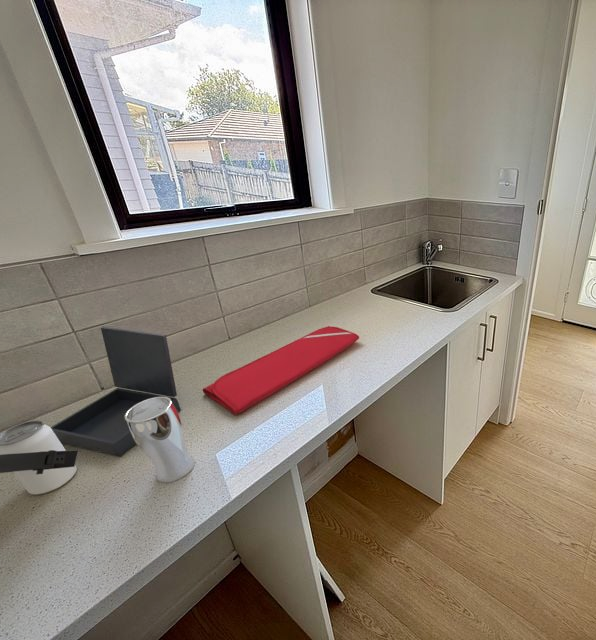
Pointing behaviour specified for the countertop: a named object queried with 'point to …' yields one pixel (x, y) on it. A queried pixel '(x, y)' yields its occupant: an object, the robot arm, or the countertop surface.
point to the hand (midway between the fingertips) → (29, 463)
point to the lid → (139, 361)
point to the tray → (103, 423)
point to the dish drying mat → (278, 368)
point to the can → (35, 440)
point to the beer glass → (160, 437)
